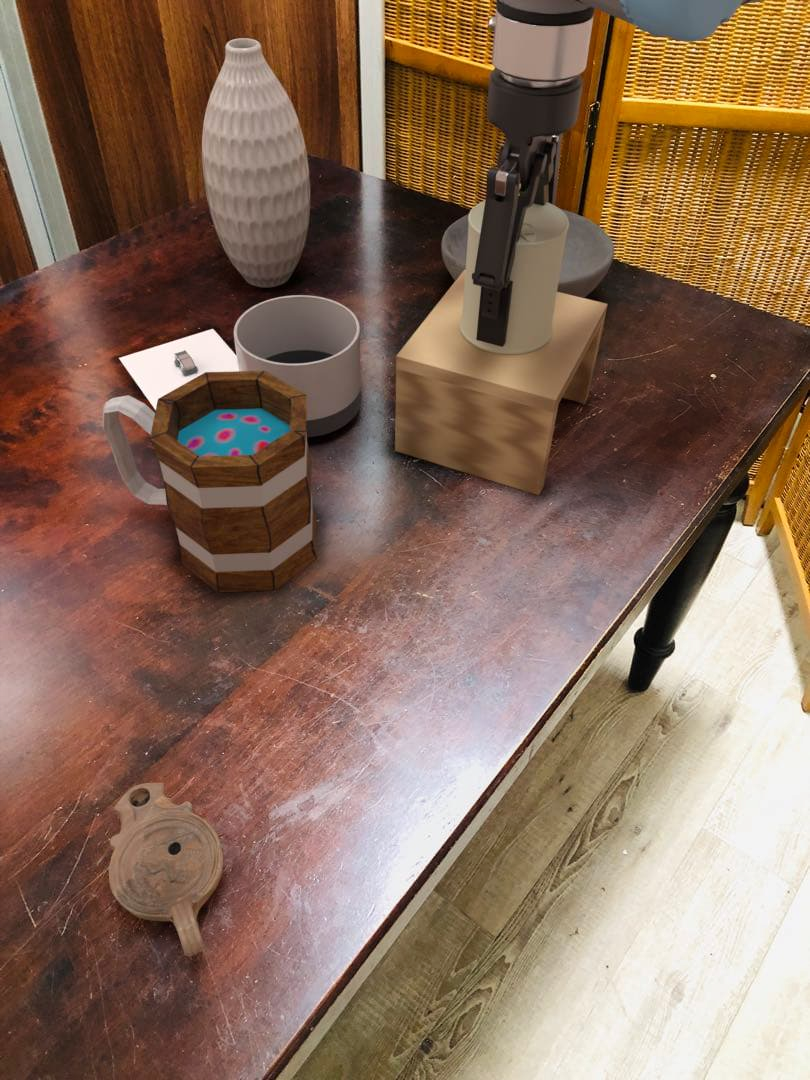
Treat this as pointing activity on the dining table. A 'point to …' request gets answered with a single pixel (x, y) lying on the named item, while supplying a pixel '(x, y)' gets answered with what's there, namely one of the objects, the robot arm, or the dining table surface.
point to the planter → (306, 354)
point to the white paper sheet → (179, 363)
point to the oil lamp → (164, 861)
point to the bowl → (580, 262)
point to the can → (521, 280)
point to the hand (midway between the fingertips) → (507, 316)
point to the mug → (228, 475)
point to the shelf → (492, 392)
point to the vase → (255, 168)
